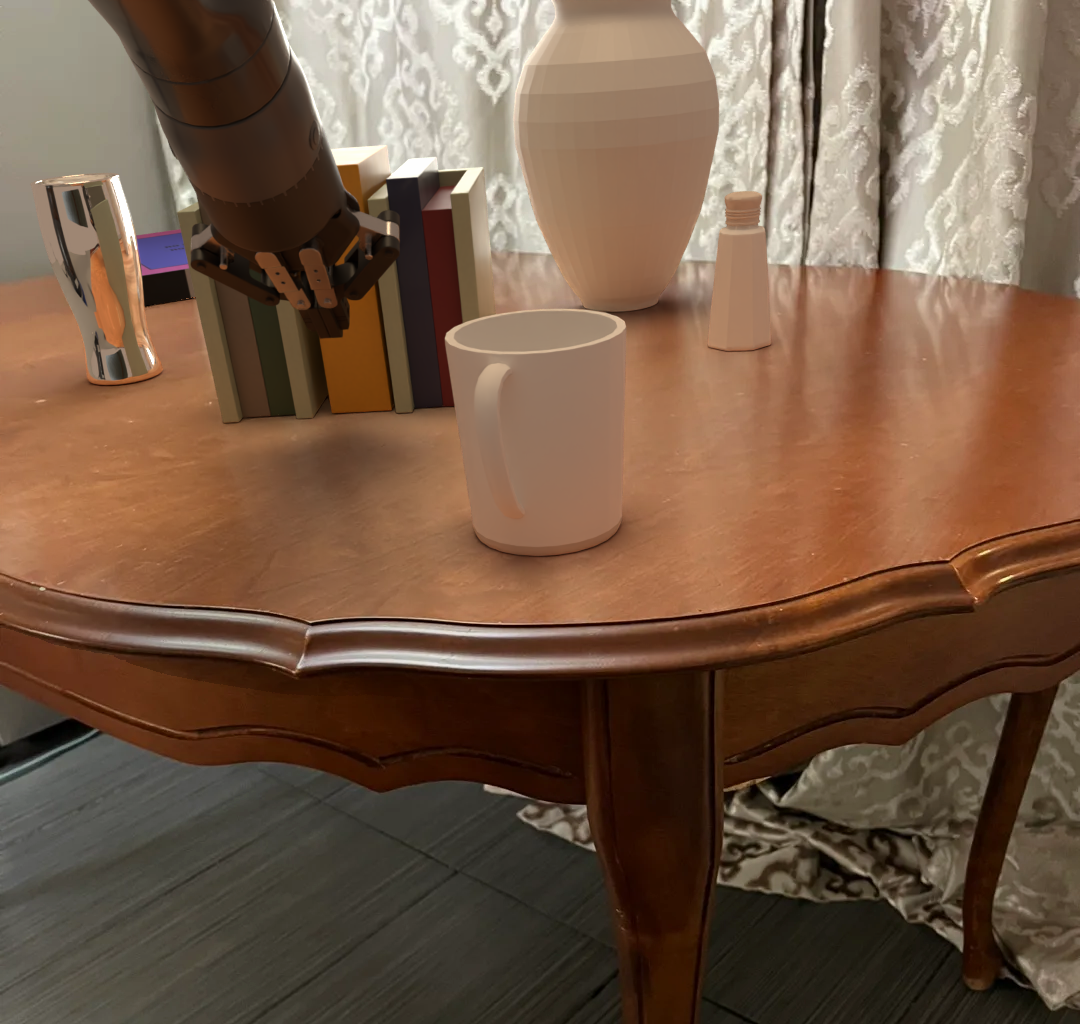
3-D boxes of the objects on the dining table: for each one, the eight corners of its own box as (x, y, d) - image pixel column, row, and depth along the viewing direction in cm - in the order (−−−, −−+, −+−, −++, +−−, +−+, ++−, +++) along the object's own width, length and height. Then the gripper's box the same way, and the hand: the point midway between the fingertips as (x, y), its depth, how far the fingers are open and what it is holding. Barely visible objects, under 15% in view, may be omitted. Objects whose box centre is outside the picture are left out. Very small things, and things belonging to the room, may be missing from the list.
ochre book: (331, 413, 80) (290, 168, 72) (361, 368, 91) (328, 149, 82) (391, 410, 80) (357, 163, 72) (414, 365, 90) (387, 144, 82)
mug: (506, 489, 65) (490, 306, 60) (652, 502, 62) (650, 310, 57) (418, 566, 57) (391, 362, 51) (582, 586, 54) (571, 370, 48)
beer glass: (110, 364, 97) (59, 174, 89) (183, 363, 96) (138, 170, 88) (66, 387, 91) (8, 186, 83) (142, 387, 90) (91, 182, 82)
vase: (493, 321, 101) (465, -5, 88) (572, 280, 115) (558, -9, 101) (678, 329, 94) (678, -24, 81) (740, 285, 108) (749, -25, 94)
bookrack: (222, 423, 80) (172, 195, 72) (268, 370, 92) (229, 169, 84) (487, 408, 79) (467, 175, 71) (499, 356, 91) (482, 151, 83)
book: (132, 277, 116) (80, 243, 138) (139, 307, 117) (87, 268, 140) (322, 247, 124) (244, 220, 146) (327, 276, 126) (249, 244, 148)
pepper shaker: (720, 332, 93) (723, 187, 87) (782, 336, 90) (790, 187, 85) (694, 349, 89) (695, 198, 83) (759, 353, 87) (765, 199, 81)
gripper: (377, 62, 57) (431, 269, 74) (125, 81, 58) (235, 282, 75) (376, 189, 55) (431, 371, 72) (117, 207, 56) (231, 383, 73)
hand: (331, 325), depth 74 cm, fingers closed
